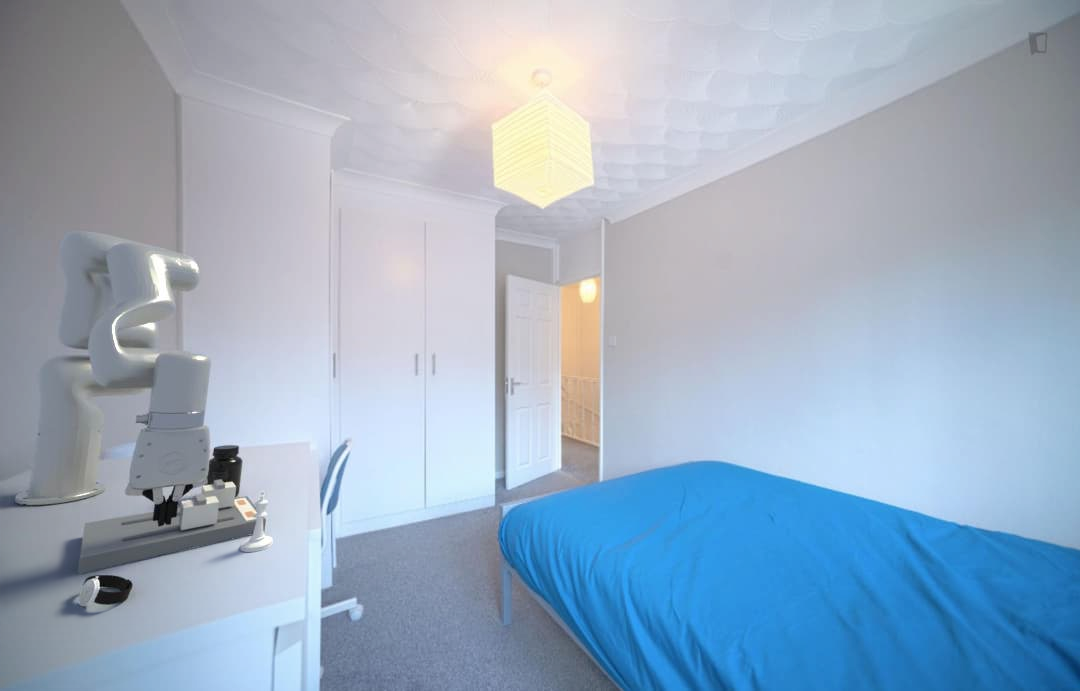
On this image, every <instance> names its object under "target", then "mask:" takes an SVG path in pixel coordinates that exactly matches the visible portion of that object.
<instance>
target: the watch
mask: <svg viewBox="0 0 1080 691" xmlns="http://www.w3.org/2000/svg"><path fill="white" fill-rule="evenodd" d="M101 588H108V589H116V590H118V591H106V590H102V589H101ZM132 589H133V582H132V580H130V579H126V578H124V577H122V576H119V575H112V574H96V575H91V576H88V577H86V578H85V579H84V582H83V584H82V587H81V590H80V592H79V595H78V604H79V605H80V606H81V607H87V606H90V605H91V604H98V605H103V606H104V605H105V606H106V605H108V606H109V605H118V604H120V603H123V602H125V601H126V600H128V599H129V598H128V597H129V596H130V594H131V590H132Z"/></svg>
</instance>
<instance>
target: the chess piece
mask: <svg viewBox="0 0 1080 691" xmlns="http://www.w3.org/2000/svg"><path fill="white" fill-rule="evenodd" d="M265 494H266V492H265V490H261V493H260V497H259V499H260V500H256V501H255V503H254V505H255V506H256V510H257V513H256V514H254V516H253V517H254V518H257V520H256V525H255V528H254V532H253V535H250V536H249V538H247V539H245V540H244V541H242V542H241V545H240V547H239V550H240V551H242V552H244V553H254V552H261V551H264V550H267V549H268V548H270V547H271V546H273V543H274V540H273V537H272V536H269V535H266V534H265V532H263V517H265V518H266V517H267V515H268V512H266V511H265V510H266V507H267V506H268V503H269V501H268V500H267V499H265Z"/></svg>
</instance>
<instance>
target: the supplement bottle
mask: <svg viewBox="0 0 1080 691" xmlns="http://www.w3.org/2000/svg"><path fill="white" fill-rule="evenodd" d="M239 450H240V446H239V445H238V444H237V445H235V444H226V445H224V444H223V445H217V446H215V447H213V451H212V458H211V459H210V458H209V470H208V476H207V480H208V483H207V484H206V485H212V484H214V480H220V479H222V481H223V482H224V483H226V482H233V483H234V484H235V486H236V492H235V498H237V497H238V496H239V493H240V488H241V479H242V473H243V472H242V471H243V470H242V469H243V458H242V457H240V456H238V455H239V453H240V452H239ZM203 486H205V485H203Z"/></svg>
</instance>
